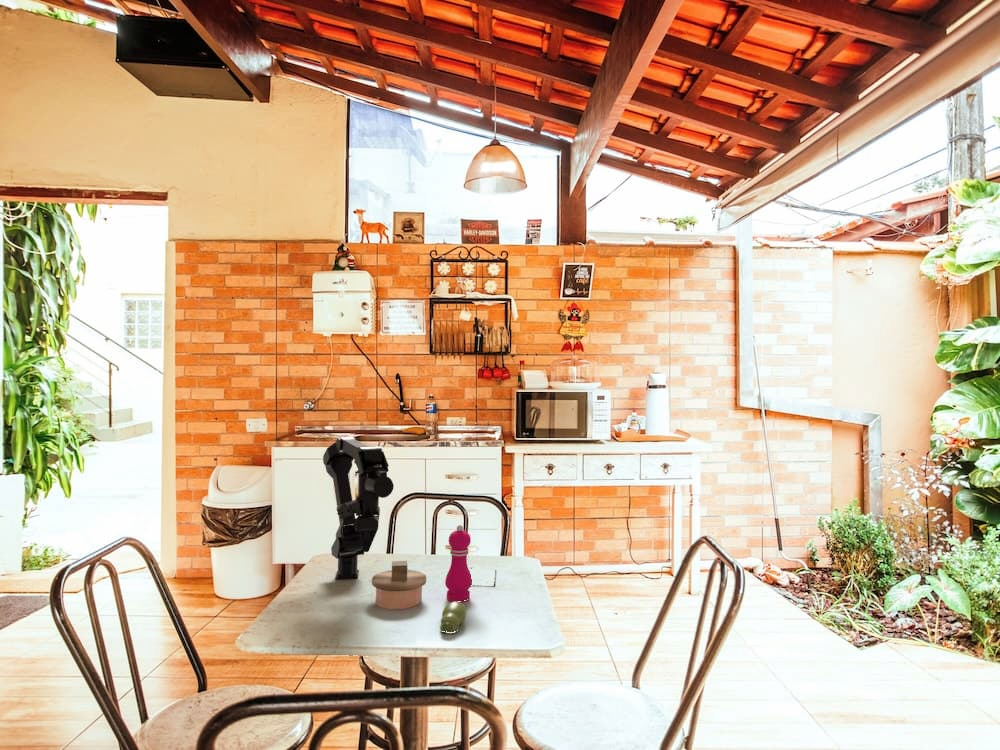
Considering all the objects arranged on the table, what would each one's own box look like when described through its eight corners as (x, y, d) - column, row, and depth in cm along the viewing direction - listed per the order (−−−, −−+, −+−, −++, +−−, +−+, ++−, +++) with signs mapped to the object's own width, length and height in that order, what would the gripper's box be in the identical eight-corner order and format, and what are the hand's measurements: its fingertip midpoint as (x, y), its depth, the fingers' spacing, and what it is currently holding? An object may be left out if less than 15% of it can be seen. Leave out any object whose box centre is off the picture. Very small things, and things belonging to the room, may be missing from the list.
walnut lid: (372, 574, 167) (372, 556, 167) (424, 572, 170) (425, 554, 170) (371, 592, 153) (371, 572, 153) (427, 590, 156) (428, 570, 156)
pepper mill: (439, 599, 163) (441, 525, 163) (453, 591, 169) (455, 520, 169) (462, 605, 159) (464, 529, 160) (476, 596, 166) (478, 523, 166)
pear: (468, 598, 149) (458, 620, 139) (469, 618, 150) (458, 641, 140) (447, 596, 150) (434, 618, 141) (447, 615, 151) (435, 638, 141)
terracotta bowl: (376, 593, 166) (377, 575, 166) (420, 591, 168) (420, 573, 168) (375, 610, 155) (375, 590, 155) (422, 608, 157) (422, 588, 157)
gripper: (341, 485, 177) (340, 538, 177) (335, 498, 158) (334, 557, 158) (380, 485, 179) (379, 538, 179) (378, 498, 160) (377, 556, 160)
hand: (367, 547), depth 169 cm, fingers open, 9 cm apart
